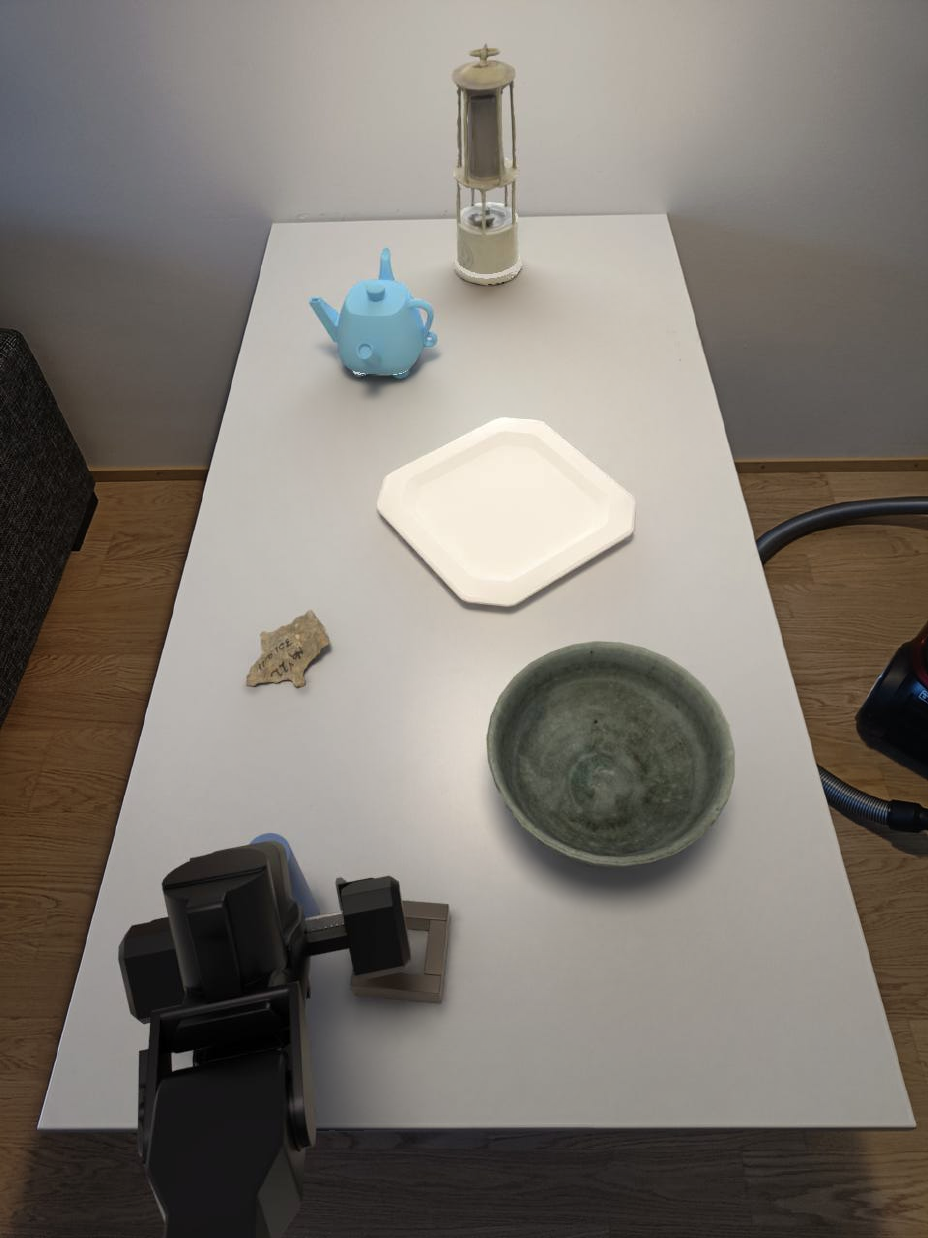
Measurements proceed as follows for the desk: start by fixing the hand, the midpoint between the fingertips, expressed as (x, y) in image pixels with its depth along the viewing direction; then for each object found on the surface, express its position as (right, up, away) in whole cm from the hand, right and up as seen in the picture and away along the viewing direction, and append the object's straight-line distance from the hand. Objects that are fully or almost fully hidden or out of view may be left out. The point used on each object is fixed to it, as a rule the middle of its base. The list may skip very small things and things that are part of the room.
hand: (280, 894), depth 68 cm
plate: (+19, +33, +36) cm, 53 cm away
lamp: (+18, +76, +68) cm, 104 cm away
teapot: (+2, +57, +54) cm, 79 cm away
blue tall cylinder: (0, -4, +8) cm, 9 cm away
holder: (+9, -7, +6) cm, 13 cm away
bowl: (+27, +5, +14) cm, 31 cm away
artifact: (-4, +17, +24) cm, 30 cm away
